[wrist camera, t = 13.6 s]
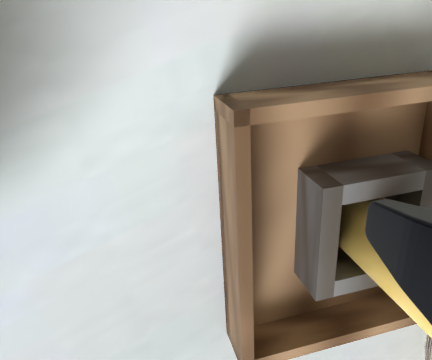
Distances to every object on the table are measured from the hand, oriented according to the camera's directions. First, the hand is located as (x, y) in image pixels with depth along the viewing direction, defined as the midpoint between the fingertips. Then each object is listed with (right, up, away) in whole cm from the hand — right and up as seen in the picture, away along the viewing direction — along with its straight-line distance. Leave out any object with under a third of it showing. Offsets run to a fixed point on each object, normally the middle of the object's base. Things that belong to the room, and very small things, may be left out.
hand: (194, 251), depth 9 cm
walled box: (+8, 0, +17) cm, 19 cm away
